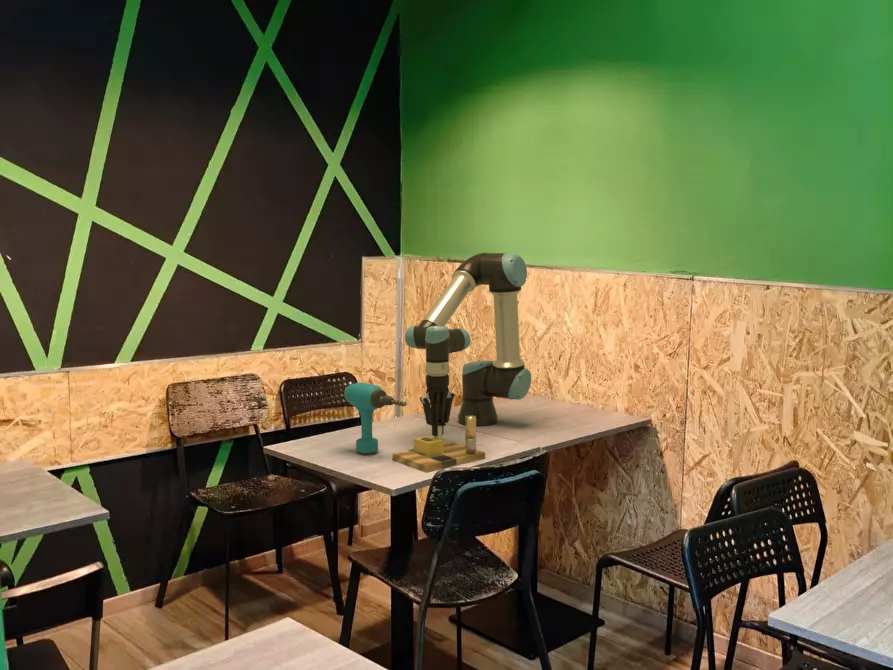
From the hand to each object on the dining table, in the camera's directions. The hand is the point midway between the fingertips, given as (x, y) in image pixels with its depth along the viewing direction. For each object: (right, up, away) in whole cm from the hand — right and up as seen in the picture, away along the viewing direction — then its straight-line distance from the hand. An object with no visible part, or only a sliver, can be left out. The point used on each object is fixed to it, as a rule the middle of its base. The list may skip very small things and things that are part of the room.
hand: (437, 445), depth 278 cm
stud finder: (-3, -2, -2) cm, 4 cm away
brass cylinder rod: (+11, -2, -4) cm, 11 cm away
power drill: (-20, -4, +1) cm, 20 cm away
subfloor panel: (0, -4, -4) cm, 5 cm away
